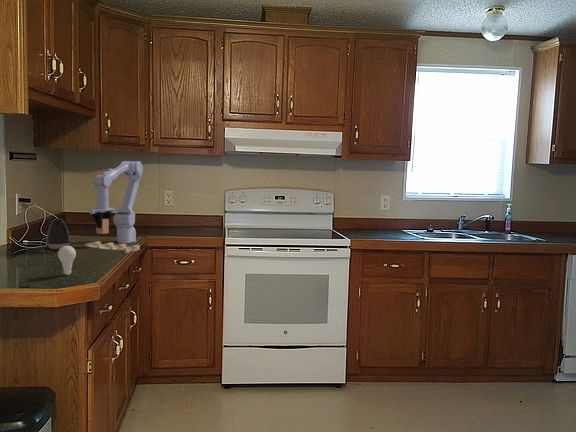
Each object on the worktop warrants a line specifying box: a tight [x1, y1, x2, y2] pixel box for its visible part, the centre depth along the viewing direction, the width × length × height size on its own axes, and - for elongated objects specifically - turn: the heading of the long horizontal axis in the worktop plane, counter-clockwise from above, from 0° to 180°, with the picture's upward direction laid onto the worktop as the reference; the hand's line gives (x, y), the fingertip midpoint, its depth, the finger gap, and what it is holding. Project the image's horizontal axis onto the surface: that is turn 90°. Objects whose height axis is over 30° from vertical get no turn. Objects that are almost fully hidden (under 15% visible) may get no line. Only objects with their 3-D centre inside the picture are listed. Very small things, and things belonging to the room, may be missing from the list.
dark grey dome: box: [46, 217, 71, 250], centre depth 241 cm, size 10×10×15 cm
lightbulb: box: [57, 245, 77, 276], centre depth 187 cm, size 6×6×11 cm
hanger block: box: [95, 218, 110, 235], centre depth 247 cm, size 4×4×7 cm
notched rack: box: [84, 240, 141, 254], centre depth 246 cm, size 10×25×2 cm, turn 68°
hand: (102, 227), depth 247 cm, fingers closed on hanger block, 4 cm apart
